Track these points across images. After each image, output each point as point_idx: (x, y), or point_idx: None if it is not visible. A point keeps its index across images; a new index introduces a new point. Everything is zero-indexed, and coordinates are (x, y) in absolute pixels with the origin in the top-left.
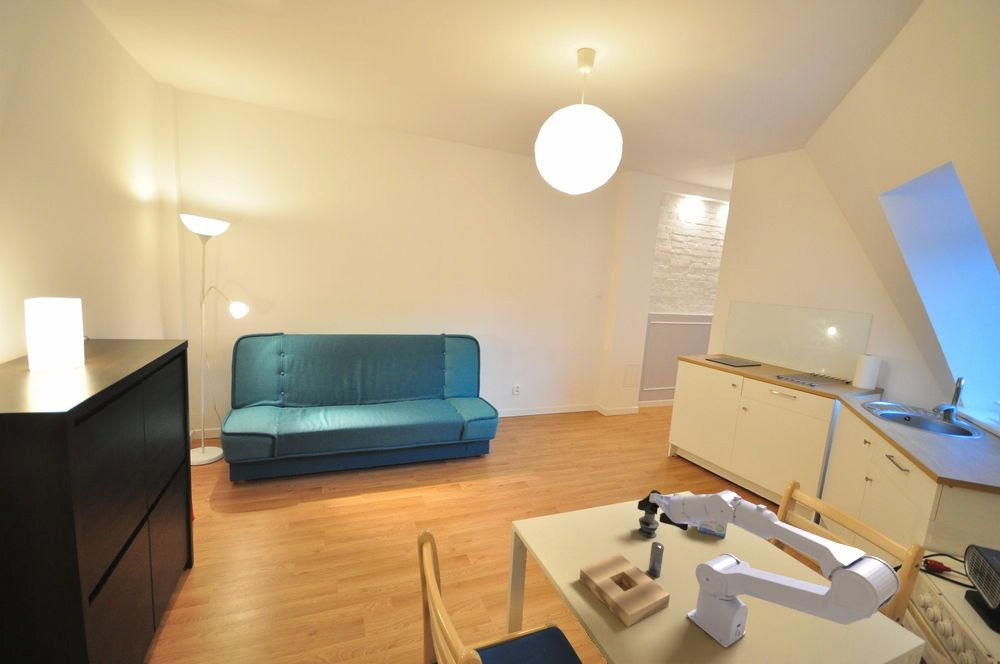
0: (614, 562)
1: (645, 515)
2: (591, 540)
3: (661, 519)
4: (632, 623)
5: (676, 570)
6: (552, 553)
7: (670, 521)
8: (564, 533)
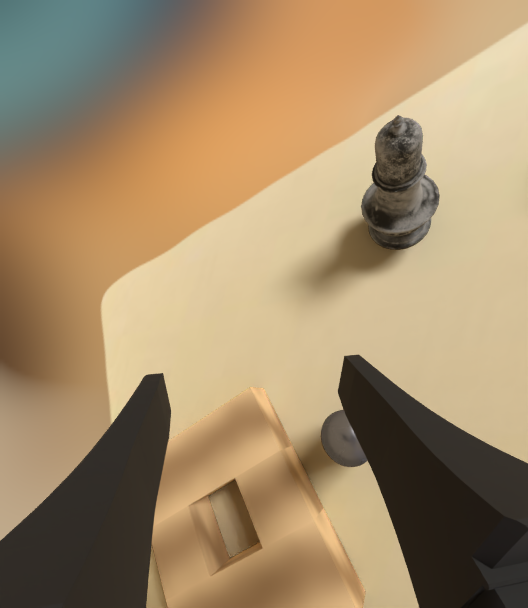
0: (222, 433)
1: (378, 191)
2: (221, 302)
3: (345, 397)
4: None
5: (455, 407)
6: (128, 367)
7: (382, 476)
8: (169, 289)
